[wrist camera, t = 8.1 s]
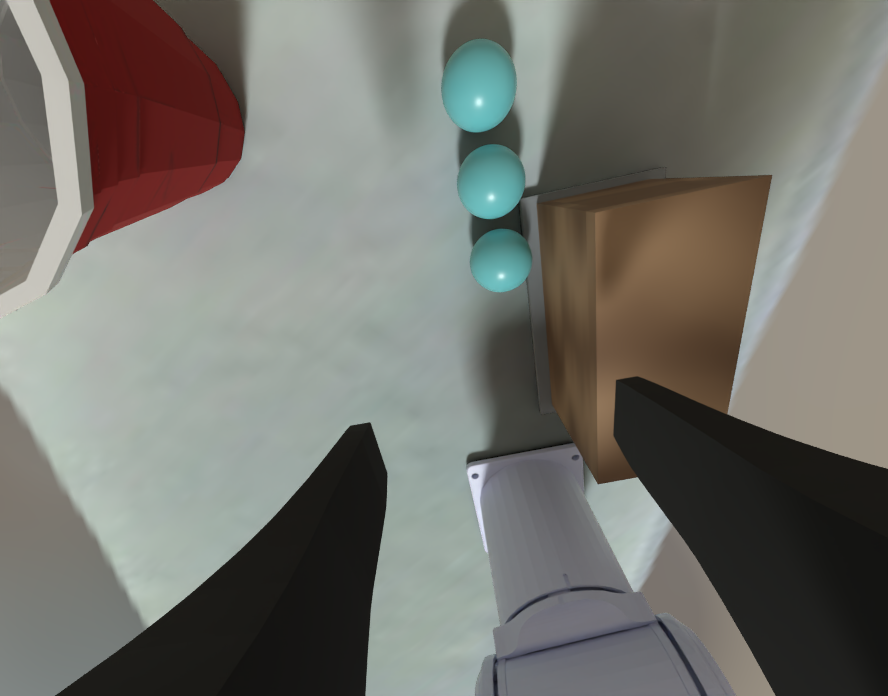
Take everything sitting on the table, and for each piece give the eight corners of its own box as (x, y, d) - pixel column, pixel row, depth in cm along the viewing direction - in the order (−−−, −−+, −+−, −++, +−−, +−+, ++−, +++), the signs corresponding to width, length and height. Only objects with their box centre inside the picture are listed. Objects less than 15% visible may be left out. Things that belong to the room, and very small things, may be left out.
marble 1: (519, 209, 17) (536, 213, 15) (460, 222, 17) (466, 228, 15) (512, 141, 16) (530, 131, 13) (449, 155, 16) (453, 149, 13)
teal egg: (511, 128, 16) (528, 116, 13) (447, 143, 16) (451, 134, 13) (503, 46, 15) (520, 14, 12) (433, 63, 15) (435, 35, 12)
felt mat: (647, 390, 22) (650, 393, 22) (539, 411, 23) (541, 414, 22) (661, 167, 17) (666, 167, 16) (518, 198, 17) (520, 198, 17)
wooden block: (639, 387, 22) (718, 462, 16) (551, 404, 22) (597, 484, 16) (649, 178, 17) (772, 174, 11) (536, 203, 17) (595, 212, 11)
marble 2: (526, 277, 19) (542, 292, 16) (471, 288, 19) (479, 305, 16) (520, 219, 18) (537, 225, 15) (462, 232, 18) (468, 240, 15)
